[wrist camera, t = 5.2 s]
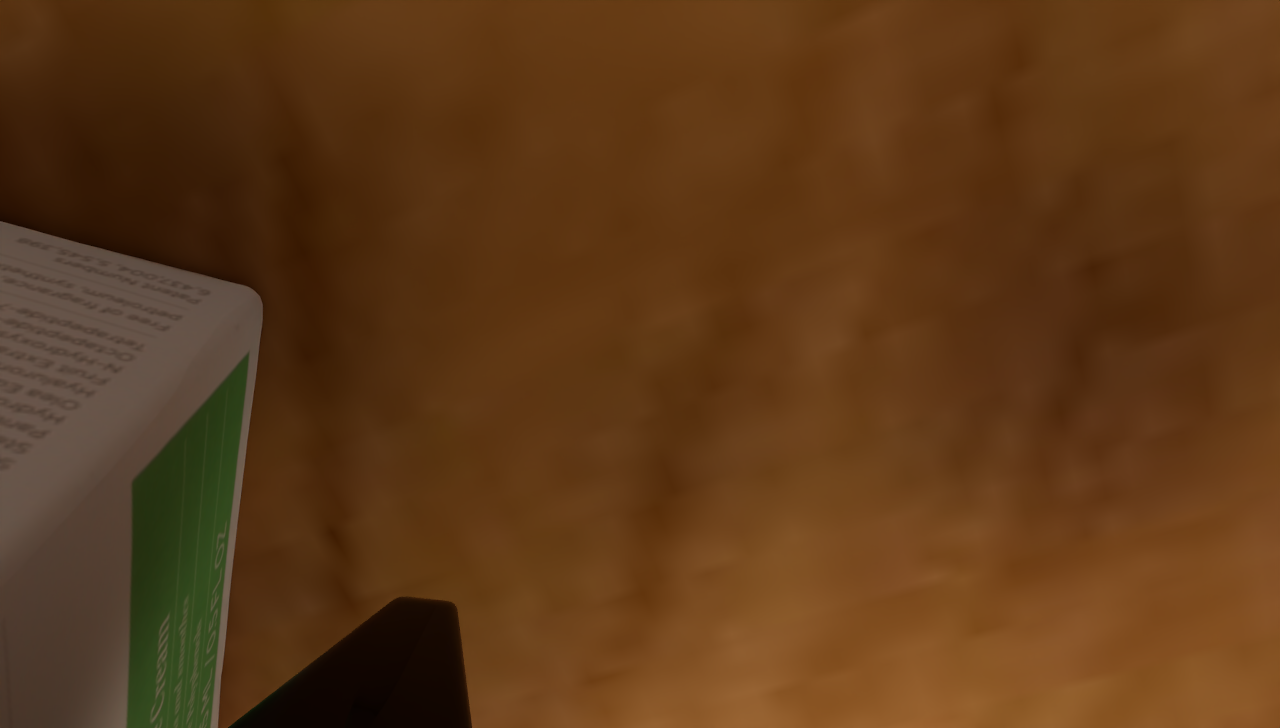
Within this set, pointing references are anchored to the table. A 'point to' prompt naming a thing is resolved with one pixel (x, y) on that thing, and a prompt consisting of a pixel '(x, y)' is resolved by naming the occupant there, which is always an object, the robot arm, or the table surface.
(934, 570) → the table surface
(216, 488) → the small box
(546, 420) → the table surface
